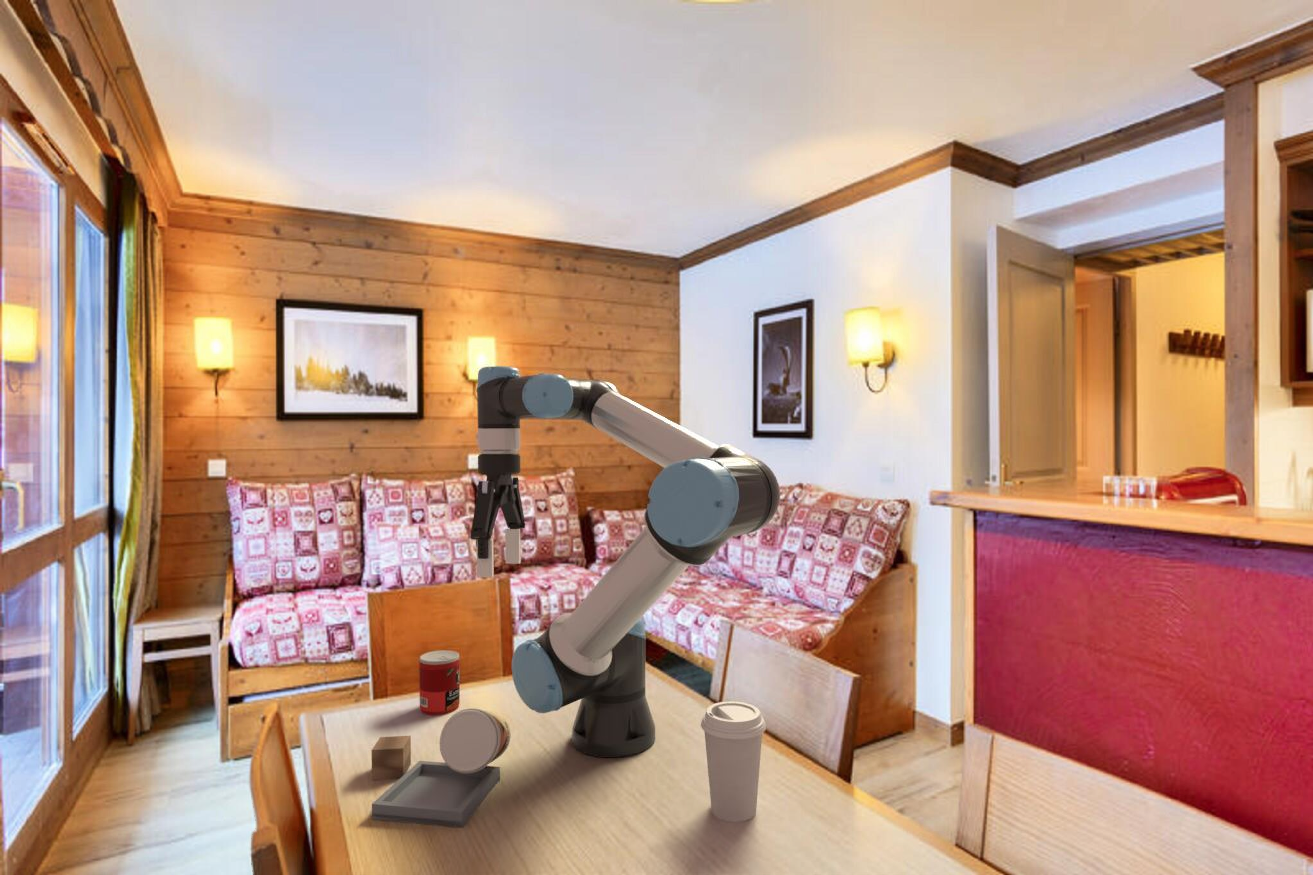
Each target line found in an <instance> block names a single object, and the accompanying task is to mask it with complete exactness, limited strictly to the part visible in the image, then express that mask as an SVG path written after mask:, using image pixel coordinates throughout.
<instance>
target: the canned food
mask: <svg viewBox="0 0 1313 875" xmlns="http://www.w3.org/2000/svg"><path fill="white" fill-rule="evenodd" d="M460 663H461V662H460V653H459V652H457V651H454V650H434V651H430V652H425V653H423V654H421V655H420V657H419V662H418V664H419V665H418V666H419V667H418V669H419V670H418V672H419V674H418V675H419V677H418V678H419V679H418V682H419V685H418V686H419V689H418V690H419V709H420V712H421V714H424V715H428V716H441V715H446V714H450V713H453V712H455V711H456V710H458V709H459V708H460V703H461V702H460V700H461V699H460V690H461V689H460V684H461V683H460V682H461V681H460V670H461V668H460V665H461V664H460Z"/></svg>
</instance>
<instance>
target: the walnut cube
mask: <svg viewBox="0 0 1313 875" xmlns="http://www.w3.org/2000/svg"><path fill="white" fill-rule="evenodd" d="M411 738H412V735H397V736H396V735H395V736H380V737H379V738H378V739H377V741H376V743H375V744H374V746H373V747H372V749H371V781H380V780H381V781H382V780H383V781H384V780H399V779H400V778H401V777H402V776H403V775H404V774H406V773H407V772H408V771H409V770H410V766H411V765H412V764H411V763H412V748H411V746H412V745H411V744H412V743H411V741H412V740H411Z"/></svg>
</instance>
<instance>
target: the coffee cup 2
mask: <svg viewBox="0 0 1313 875" xmlns="http://www.w3.org/2000/svg"><path fill="white" fill-rule="evenodd" d="M765 721H766V720H764V717H763V716H762V713H761V711H760V709H759V708H758V707H756V706H755V705H753V704H750V703H747V702H742V701H741V702H740V701H731V700H729V701H720V702H715V703H713V704H711V705H709V706H708V707H707V708H706V710H705V713H704V714H703V716H702V718H701V722H700V728H701V729H702V730H703V732H704V740H705V742H704V743H705V750H706V762H707V774H708V775H707V776H708V783H709V784H708V785H709V797H710V807H711V808H710V809H711V813H712V815H713V816H715V817H716V818H717V819H719V820H721V821H725V822H730V823H741V822H746V821H749V820H751V819H752V818H754V817H755V816H756V813H757V807H758V806H757V804H758V792H759V779H760V768H761V765H760V763H761V753H762V742H763V733H765V731H766V728H767V725H766V722H765Z"/></svg>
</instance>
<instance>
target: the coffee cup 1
mask: <svg viewBox="0 0 1313 875" xmlns="http://www.w3.org/2000/svg"><path fill="white" fill-rule="evenodd" d="M511 735H512V733H511V727H510V724H509V722H508V721H507V718H505V717H504V716H503V715H501V714H500V713H498V712H494V711H491V710H483V709H481V708H477V707H475V708H474V707H473V708H472V707H470V708H463V709H461V710H459V711H458V712H455V713H454V714H453V715H452V716H451V717H449V719H447V721H446V723H445V724H444V725H443V727H442V730H441V733H440V735H439V750H440V755H441V757H442V759H443V762H444V763H446V764H447V765H448V766H449V767H450V768H451V769H453V770H455V771H457V772H460V773H474V772H477V771H480V770H481V769H483V768H485V767H486V766H489V764H491V763H492V762H494V761H496V760H497V759H498V758H499V757H501V756H502V755H503V754H504V753H505V752H506V750H507V749H508V747H509V745H510V742H511V737H512V736H511Z"/></svg>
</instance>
